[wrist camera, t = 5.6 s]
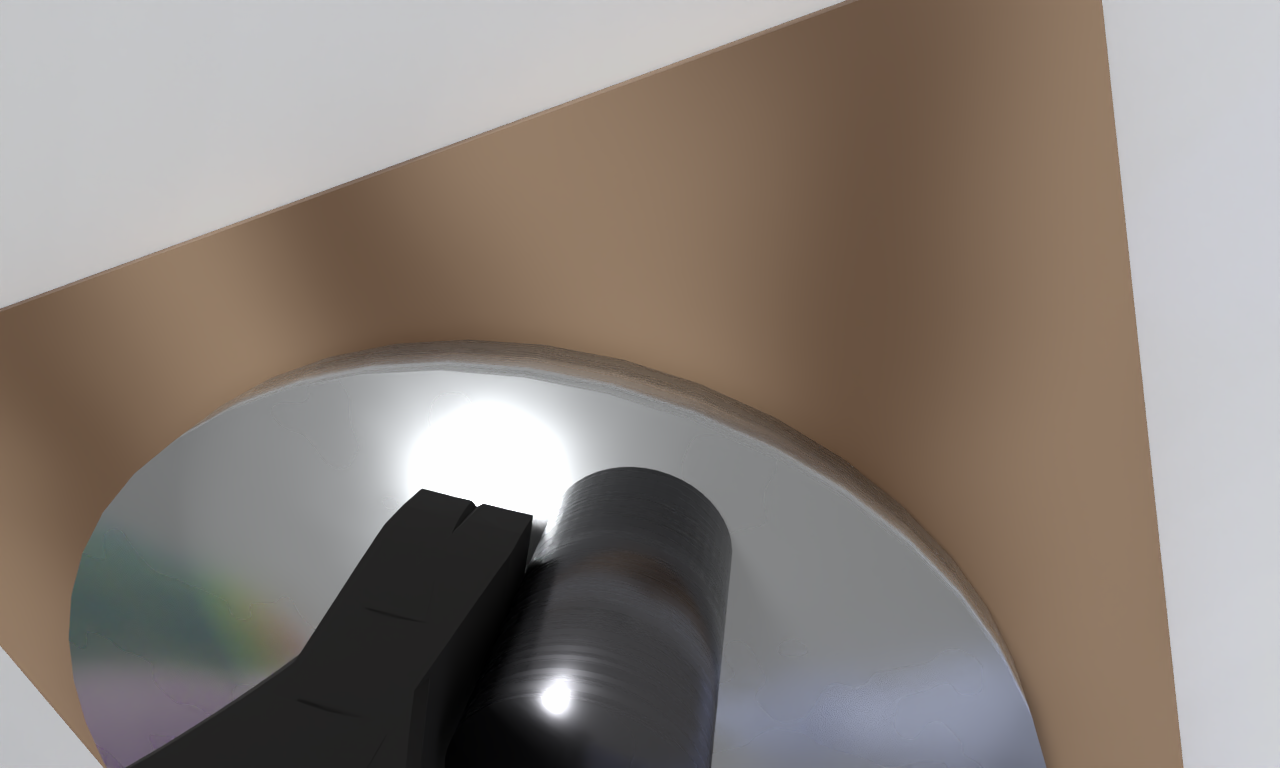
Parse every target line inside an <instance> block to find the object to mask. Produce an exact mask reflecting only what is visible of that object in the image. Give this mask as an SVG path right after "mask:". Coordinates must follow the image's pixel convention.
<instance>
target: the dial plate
mask: <svg viewBox="0 0 1280 768" xmlns="http://www.w3.org/2000/svg"><path fill="white" fill-rule="evenodd" d="M451 340H483V341H498V342H512V343H527V344H542V345H549V346H554V347H559V348H565V349H570V350H575V351H580V352H586V353H591V354H596V355H601V356H607V357H612V358H617V359H622V360H626V361H629V362H632V363H635V364H639V365H642V366H645V367H648V368H651V369H654V370H658V371H661V372H664V373H667V374H670V375H673V376H677V377H680V378H683V379H686V380H689V381H692V382H696V383H699V384H702V385H704V386H706V387H708V388H710V389H713V390H715V391H717V392H719V393H722V394H724V395H726V396H728V397H730V398H733V399H735V400H737V401H739V402H742V403H744V404H746V405H748V406H750V407H753V408H755V409H757V410H759V411H762V412H764V413H766V414H768V415H770V416H773V417H775V418H776V419H778V420H780V421H781V422H783V423H785V424H786V425H788V426H790V427H791V428H793V429H795V430H796V431H798V432H800V433H801V434H803V435H805V436H806V437H808V438H810V439H811V440H813V441H815V442H816V443H818V444H820V445H821V446H823V447H825V448H826V449H828V450H830V451H831V452H833V453H834V454H836V455H838V456H839V457H841V458H843V459H844V460H845V461H846V462H848V463H849V464H850V465H851V466H853V467H854V468H855V469H857V470H858V471H859V472H860V473H862V474H863V475H864V476H865V477H867V478H868V479H869V480H870V481H872V482H873V483H874V484H876V485H877V486H878V487H879V488H881V489H882V490H883V491H884V492H886V493H887V494H888V495H889V496H891V497H892V498H893V499H895V500H896V501H897V502H898V503H900V504H901V505H902V506H903V507H904V508H905V509H906V510H907V511H908V512H909V513H910V515H911V516H912V517H913V518H914V519H915V520H916V521H917V522H918V523H919V524H920V525H921V526H922V527H923V528H924V529H925V530H926V531H927V532H928V533H929V534H930V535H931V536H932V537H933V538H934V539H935V540H936V541H937V542H938V544H939V545H940V546H941V547H942V548H943V549H944V550H945V551H946V552H947V553H948V554H949V555H950V556H951V558H952V559H953V561H954V562H955V563H956V565H957V566H958V568H959V569H960V570H961V572H962V573H963V575H964V576H965V577H966V579H967V580H968V582H969V583H970V584H971V586H972V587H973V589H974V590H975V591H976V593H977V594H978V596H979V597H980V598H981V600H982V601H983V602H984V604H985V605H986V607H987V608H988V610H989V612H990V614H991V616H992V619H993V621H994V623H995V625H996V627H997V629H998V631H999V633H1000V635H1001V637H1002V639H1003V641H1004V643H1005V645H1006V647H1007V649H1008V651H1009V653H1010V655H1011V657H1012V659H1013V661H1014V664H1015V667H1016V670H1017V673H1018V676H1019V679H1020V683H1021V686H1022V689H1023V692H1024V695H1025V698H1026V701H1027V704H1028V707H1029V710H1030V713H1031V716H1032V719H1033V722H1034V726H1035V729H1036V733H1037V736H1038V740H1039V743H1040V747H1041V750H1042V754H1043V757H1044V761H1045V764H1046V768H1183V760H1182V750H1181V741H1180V731H1179V722H1178V713H1177V703H1176V694H1175V684H1174V675H1173V666H1172V656H1171V647H1170V637H1169V628H1168V619H1167V609H1166V600H1165V590H1164V581H1163V571H1162V562H1161V553H1160V543H1159V534H1158V524H1157V515H1156V506H1155V496H1154V487H1153V477H1152V468H1151V458H1150V449H1149V440H1148V430H1147V421H1146V411H1145V402H1144V393H1143V383H1142V374H1141V364H1140V355H1139V345H1138V336H1137V327H1136V317H1135V308H1134V298H1133V289H1132V280H1131V270H1130V261H1129V251H1128V242H1127V232H1126V223H1125V214H1124V204H1123V195H1122V185H1121V176H1120V167H1119V157H1118V148H1117V138H1116V129H1115V119H1114V110H1113V101H1112V91H1111V82H1110V72H1109V63H1108V54H1107V44H1106V35H1105V25H1104V16H1103V6H1102V0H846V1H844V2H841V3H838V4H835V5H833V6H830V7H827V8H824V9H822V10H819V11H816V12H813V13H811V14H808V15H805V16H802V17H800V18H797V19H794V20H791V21H789V22H786V23H783V24H780V25H778V26H775V27H772V28H770V29H767V30H764V31H761V32H759V33H756V34H753V35H750V36H748V37H745V38H742V39H739V40H737V41H734V42H731V43H728V44H726V45H723V46H720V47H717V48H715V49H712V50H709V51H706V52H704V53H701V54H698V55H695V56H693V57H690V58H687V59H684V60H682V61H679V62H676V63H673V64H671V65H668V66H665V67H663V68H660V69H657V70H654V71H652V72H649V73H646V74H643V75H641V76H638V77H635V78H632V79H630V80H627V81H624V82H621V83H619V84H616V85H613V86H610V87H608V88H605V89H602V90H599V91H597V92H594V93H591V94H588V95H586V96H583V97H580V98H577V99H575V100H572V101H569V102H566V103H564V104H561V105H558V106H556V107H553V108H550V109H547V110H545V111H542V112H539V113H536V114H534V115H531V116H528V117H525V118H523V119H520V120H517V121H514V122H512V123H509V124H506V125H503V126H501V127H498V128H495V129H492V130H490V131H487V132H484V133H481V134H479V135H476V136H473V137H470V138H468V139H465V140H462V141H459V142H457V143H454V144H451V145H449V146H446V147H443V148H440V149H438V150H435V151H432V152H429V153H427V154H424V155H421V156H418V157H416V158H413V159H410V160H407V161H405V162H402V163H399V164H396V165H394V166H391V167H388V168H385V169H383V170H380V171H377V172H374V173H372V174H369V175H366V176H363V177H361V178H358V179H355V180H352V181H350V182H347V183H344V184H342V185H339V186H336V187H333V188H331V189H328V190H325V191H322V192H320V193H317V194H314V195H311V196H309V197H306V198H303V199H300V200H298V201H295V202H292V203H289V204H287V205H284V206H281V207H278V208H276V209H273V210H270V211H267V212H265V213H262V214H259V215H256V216H254V217H251V218H248V219H245V220H243V221H240V222H237V223H235V224H232V225H229V226H226V227H224V228H221V229H218V230H215V231H213V232H210V233H207V234H204V235H202V236H199V237H196V238H193V239H191V240H188V241H185V242H182V243H180V244H177V245H174V246H171V247H169V248H166V249H163V250H160V251H158V252H155V253H152V254H149V255H147V256H144V257H141V258H138V259H136V260H133V261H130V262H127V263H125V264H122V265H119V266H117V267H114V268H111V269H108V270H106V271H103V272H100V273H97V274H95V275H92V276H89V277H86V278H84V279H81V280H78V281H75V282H73V283H70V284H67V285H64V286H62V287H59V288H56V289H53V290H51V291H48V292H45V293H42V294H40V295H37V296H34V297H31V298H29V299H26V300H23V301H20V302H18V303H15V304H12V305H10V306H7V307H4V308H1V309H0V646H1V647H2V648H3V649H4V650H5V652H6V653H7V654H8V655H9V656H10V658H11V659H12V660H13V661H14V662H15V663H16V665H17V666H18V667H19V668H20V669H21V671H22V672H23V673H24V674H25V675H26V676H27V678H28V679H29V680H30V681H31V682H32V684H33V685H34V686H35V687H36V688H37V689H38V691H39V692H40V693H41V694H42V695H43V697H44V698H45V699H46V700H47V701H48V702H49V704H50V705H51V706H52V707H53V708H54V710H55V711H56V712H57V713H58V714H59V715H60V717H61V718H62V719H63V720H64V721H65V723H66V724H67V725H68V726H69V727H70V728H71V730H72V731H73V732H74V733H75V734H76V736H77V737H78V738H79V739H80V740H81V741H82V743H83V744H84V745H85V746H86V747H87V749H88V750H89V751H90V752H91V753H92V754H93V756H94V757H95V758H96V759H97V760H98V762H99V763H100V764H101V765H102V766H103V767H104V768H107V767H106V766H105V764H104V762H103V760H102V758H101V755H100V753H99V751H98V749H97V746H96V744H95V742H94V740H93V737H92V735H91V733H90V731H89V728H88V726H87V724H86V721H85V718H84V714H83V711H82V707H81V704H80V701H79V697H78V694H77V690H76V687H75V683H74V678H73V670H72V662H71V653H70V645H69V624H70V608H71V594H72V591H73V587H74V583H75V579H76V575H77V572H78V568H79V564H80V560H81V557H82V553H83V551H84V549H85V547H86V545H87V543H88V541H89V539H90V537H91V535H92V533H93V531H94V529H95V527H96V525H97V523H98V521H99V519H100V517H101V515H102V513H103V512H104V510H105V509H106V508H107V507H108V506H109V504H110V503H111V502H112V501H113V499H114V498H115V497H116V496H117V494H118V493H119V492H120V491H121V489H122V488H123V487H124V486H125V484H126V483H127V482H128V481H129V479H130V478H131V477H132V476H133V475H134V474H135V473H136V472H137V471H138V470H139V469H141V468H142V467H143V466H144V465H145V464H147V463H148V462H149V461H150V460H152V459H153V458H154V457H155V456H156V455H158V454H159V453H160V452H161V451H162V450H164V449H165V448H166V447H167V446H168V445H170V444H171V443H172V442H173V441H175V440H176V439H177V438H178V437H180V436H181V435H182V434H184V433H185V432H187V431H188V430H189V429H191V428H192V427H193V426H195V425H196V424H197V423H199V422H200V421H201V420H203V419H204V418H205V417H207V416H208V415H209V414H211V413H212V412H213V411H215V410H216V409H217V408H219V407H220V406H221V405H223V404H225V403H227V402H228V401H230V400H232V399H234V398H236V397H237V396H239V395H241V394H243V393H245V392H246V391H248V390H250V389H252V388H254V387H255V386H257V385H259V384H261V383H263V382H264V381H266V380H268V379H270V378H272V377H275V376H277V375H280V374H283V373H286V372H289V371H291V370H294V369H297V368H300V367H302V366H305V365H308V364H311V363H314V362H316V361H319V360H322V359H325V358H327V357H331V356H336V355H341V354H346V353H351V352H356V351H362V350H367V349H372V348H377V347H382V346H387V345H392V344H400V343H417V342H434V341H451Z"/></svg>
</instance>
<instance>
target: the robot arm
mask: <svg viewBox="0 0 1280 768" xmlns="http://www.w3.org/2000/svg"><path fill="white" fill-rule="evenodd" d="M532 522H533V515H530V514H526V513H522V512H518V511H514V510H510V509H506V508H501V507H497V506H493V505H489V504H485V503H482V504H481V505H479V506H476V505H475V503H474V502H473V501H472V500H468V499H464V498H460V497H456V496H452V495H448V494H443V493H439V492H435V491H431V490H427V489H423V488H422V489H421V490H419V491H418V492H417V493H416V494H415V495H414V496H413V497H411V498H410V499H409V500H408V501H407V502H406V503H405V504H404V505H402V506H401V508H400V509H399V510H398V511H397V512H396V513H395V514H394V515H393V516H392V517H391V518H390V519H389V520H388V521H387V522H386V523H385V524H384V526H383V527H382V529H381V530H380V532H379V533H378V534H377V536H376V537H375V539H374V540H373V542H372V543H371V545H370V546H369V548H368V549H367V551H366V553H365V554H364V556H363V557H362V559H361V560H360V562H359V563H358V565H357V566H356V568H355V569H354V571H353V572H352V574H351V575H350V577H349V578H348V580H347V582H346V583H345V585H344V586H343V588H342V589H341V591H340V592H339V594H338V595H337V597H336V599H335V600H334V602H333V603H332V605H331V606H330V608H329V609H328V611H327V612H326V614H325V616H324V617H323V619H322V620H321V622H320V623H319V625H318V626H317V628H316V629H315V631H314V633H313V634H312V636H311V637H310V639H309V640H308V642H307V643H306V645H305V646H304V648H303V650H302V651H301V653H300V654H299V655H298V656H296V657H295V658H293V659H292V660H291V661H289V662H288V663H287V664H285V665H284V666H283V667H281V668H280V669H279V670H277V671H276V672H274V673H273V674H272V675H270V676H269V677H267V678H266V679H264V680H263V681H261V682H260V683H259V684H257V685H256V686H254V687H253V688H251V689H250V690H248V691H247V692H245V693H244V694H242V695H241V696H240V697H238V698H237V699H235V700H234V701H232V702H230V703H229V704H227V705H226V706H224V707H223V708H221V709H220V710H218V711H217V712H215V713H214V714H212V715H211V716H209V717H207V718H206V719H204V720H203V721H201V722H200V723H198V724H196V725H195V726H193V727H192V728H190V729H188V730H187V731H185V732H184V733H182V734H181V735H179V736H177V737H176V738H174V739H173V740H171V741H169V742H168V743H166V744H165V745H163V746H161V747H160V748H158V749H156V750H154V751H153V752H151V753H149V754H148V755H146V756H144V757H142V758H141V759H139V760H137V761H136V762H134V763H132V764H130V765H129V766H127V767H125V768H445V756H446V752H447V748H448V746H449V743H450V741H451V739H452V737H453V734H454V732H455V730H456V728H457V725H458V723H459V721H460V719H461V716H462V714H463V712H464V710H465V708H466V705H467V703H468V701H469V699H470V696H471V694H472V692H473V690H474V687H475V685H476V683H477V681H478V678H479V676H480V674H481V672H482V669H483V667H484V665H485V663H486V660H487V658H488V656H489V654H490V651H491V649H492V647H493V645H494V642H495V640H496V638H497V636H498V633H499V631H500V629H501V627H502V624H503V622H504V620H505V618H506V615H507V613H508V611H509V609H510V606H511V604H512V602H513V600H514V597H515V595H516V593H517V591H518V588H519V586H520V584H521V582H522V579H523V577H524V575H525V568H526V562H527V555H528V548H529V542H530V535H531V528H532Z"/></svg>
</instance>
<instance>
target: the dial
mask: <svg viewBox="0 0 1280 768" xmlns="http://www.w3.org/2000/svg"><path fill="white" fill-rule="evenodd" d="M422 488H423V489H427V490H431V491H435V492H439V493H443V494H448V495H452V496H456V497H460V498H464V499H468V500H472V501H473V502H474V503H475V505H476V506H479V505H481V504H482V503H485V504H489V505H493V506H497V507H501V508H506V509H510V510H514V511H518V512H522V513H526V514H530V515H533V522H532V528H531V535H530V542H529V548H528V555H527V562H526V568H525V575H524V577H523V579H522V582H521V584H520V586H519V588H518V591H517V593H516V595H515V597H514V600H513V602H512V604H511V606H510V609H509V611H508V613H507V615H506V618H505V620H504V622H503V624H502V627H501V629H500V631H499V633H498V636H497V638H496V640H495V642H494V645H493V647H492V649H491V651H490V654H489V656H488V658H487V660H486V663H485V665H484V667H483V669H482V672H481V674H480V676H479V678H478V681H477V683H476V685H475V687H474V690H473V692H472V694H471V696H470V699H469V701H468V703H467V705H466V708H465V710H464V712H463V714H462V716H461V719H460V721H459V723H458V725H457V728H456V730H455V732H454V734H453V737H452V739H451V741H450V743H449V746H448V748H447V752H446V756H445V768H1046V764H1045V761H1044V757H1043V754H1042V750H1041V747H1040V743H1039V740H1038V736H1037V733H1036V729H1035V726H1034V722H1033V719H1032V716H1031V713H1030V710H1029V707H1028V704H1027V701H1026V698H1025V695H1024V692H1023V689H1022V686H1021V683H1020V679H1019V676H1018V673H1017V670H1016V667H1015V664H1014V661H1013V659H1012V657H1011V655H1010V653H1009V651H1008V649H1007V647H1006V645H1005V643H1004V641H1003V639H1002V637H1001V635H1000V633H999V631H998V629H997V627H996V625H995V623H994V621H993V619H992V616H991V614H990V612H989V610H988V608H987V607H986V605H985V604H984V602H983V601H982V600H981V598H980V597H979V596H978V594H977V593H976V591H975V590H974V589H973V587H972V586H971V584H970V583H969V582H968V580H967V579H966V577H965V576H964V575H963V573H962V572H961V570H960V569H959V568H958V566H957V565H956V563H955V562H954V561H953V559H952V558H951V556H950V555H949V554H948V553H947V552H946V551H945V550H944V549H943V548H942V547H941V546H940V545H939V544H938V542H937V541H936V540H935V539H934V538H933V537H932V536H931V535H930V534H929V533H928V532H927V531H926V530H925V529H924V528H923V527H922V526H921V525H920V524H919V523H918V522H917V521H916V520H915V519H914V518H913V517H912V516H911V515H910V513H909V512H908V511H907V510H906V509H905V508H904V507H903V506H902V505H901V504H900V503H898V502H897V501H896V500H895V499H893V498H892V497H891V496H889V495H888V494H887V493H886V492H884V491H883V490H882V489H881V488H879V487H878V486H877V485H876V484H874V483H873V482H872V481H870V480H869V479H868V478H867V477H865V476H864V475H863V474H862V473H860V472H859V471H858V470H857V469H855V468H854V467H853V466H851V465H850V464H849V463H848V462H846V461H845V460H844V459H843V458H841V457H839V456H838V455H836V454H834V453H833V452H831V451H830V450H828V449H826V448H825V447H823V446H821V445H820V444H818V443H816V442H815V441H813V440H811V439H810V438H808V437H806V436H805V435H803V434H801V433H800V432H798V431H796V430H795V429H793V428H791V427H790V426H788V425H786V424H785V423H783V422H781V421H780V420H778V419H776V418H775V417H773V416H770V415H768V414H766V413H764V412H762V411H759V410H757V409H755V408H753V407H750V406H748V405H746V404H744V403H742V402H739V401H737V400H735V399H733V398H730V397H728V396H726V395H724V394H722V393H719V392H717V391H715V390H713V389H710V388H708V387H706V386H704V385H702V384H699V383H696V382H692V381H689V380H686V379H683V378H680V377H677V376H673V375H670V374H667V373H664V372H661V371H658V370H654V369H651V368H648V367H645V366H642V365H639V364H635V363H632V362H629V361H626V360H622V359H617V358H612V357H607V356H601V355H596V354H591V353H586V352H580V351H575V350H570V349H565V348H559V347H554V346H549V345H542V344H527V343H512V342H498V341H483V340H451V341H434V342H417V343H400V344H392V345H387V346H382V347H377V348H372V349H367V350H362V351H356V352H351V353H346V354H341V355H336V356H331V357H327V358H325V359H322V360H319V361H316V362H314V363H311V364H308V365H305V366H302V367H300V368H297V369H294V370H291V371H289V372H286V373H283V374H280V375H277V376H275V377H272V378H270V379H268V380H266V381H264V382H263V383H261V384H259V385H257V386H255V387H254V388H252V389H250V390H248V391H246V392H245V393H243V394H241V395H239V396H237V397H236V398H234V399H232V400H230V401H228V402H227V403H225V404H223V405H221V406H220V407H219V408H217V409H216V410H215V411H213V412H212V413H211V414H209V415H208V416H207V417H205V418H204V419H203V420H201V421H200V422H199V423H197V424H196V425H195V426H193V427H192V428H191V429H189V430H188V431H187V432H185V433H184V434H182V435H181V436H180V437H178V438H177V439H176V440H175V441H173V442H172V443H171V444H170V445H168V446H167V447H166V448H165V449H164V450H162V451H161V452H160V453H159V454H158V455H156V456H155V457H154V458H153V459H152V460H150V461H149V462H148V463H147V464H145V465H144V466H143V467H142V468H141V469H139V470H138V471H137V472H136V473H135V474H134V475H133V476H132V477H131V478H130V479H129V481H128V482H127V483H126V484H125V486H124V487H123V488H122V489H121V491H120V492H119V493H118V494H117V496H116V497H115V498H114V499H113V501H112V502H111V503H110V504H109V506H108V507H107V508H106V509H105V510H104V512H103V513H102V515H101V517H100V519H99V521H98V523H97V525H96V527H95V529H94V531H93V533H92V535H91V537H90V539H89V541H88V543H87V545H86V547H85V549H84V551H83V553H82V557H81V560H80V564H79V568H78V572H77V575H76V579H75V583H74V587H73V591H72V594H71V608H70V624H69V645H70V653H71V662H72V670H73V678H74V683H75V687H76V690H77V694H78V697H79V701H80V704H81V707H82V711H83V714H84V718H85V721H86V724H87V726H88V728H89V731H90V733H91V735H92V737H93V740H94V742H95V744H96V746H97V749H98V751H99V753H100V755H101V758H102V760H103V762H104V764H105V766H106V767H107V768H125V767H127V766H129V765H130V764H132V763H134V762H136V761H137V760H139V759H141V758H142V757H144V756H146V755H148V754H149V753H151V752H153V751H154V750H156V749H158V748H160V747H161V746H163V745H165V744H166V743H168V742H169V741H171V740H173V739H174V738H176V737H177V736H179V735H181V734H182V733H184V732H185V731H187V730H188V729H190V728H192V727H193V726H195V725H196V724H198V723H200V722H201V721H203V720H204V719H206V718H207V717H209V716H211V715H212V714H214V713H215V712H217V711H218V710H220V709H221V708H223V707H224V706H226V705H227V704H229V703H230V702H232V701H234V700H235V699H237V698H238V697H240V696H241V695H242V694H244V693H245V692H247V691H248V690H250V689H251V688H253V687H254V686H256V685H257V684H259V683H260V682H261V681H263V680H264V679H266V678H267V677H269V676H270V675H272V674H273V673H274V672H276V671H277V670H279V669H280V668H281V667H283V666H284V665H285V664H287V663H288V662H289V661H291V660H292V659H293V658H295V657H296V656H298V655H299V654H300V653H301V651H302V650H303V648H304V646H305V645H306V643H307V642H308V640H309V639H310V637H311V636H312V634H313V633H314V631H315V629H316V628H317V626H318V625H319V623H320V622H321V620H322V619H323V617H324V616H325V614H326V612H327V611H328V609H329V608H330V606H331V605H332V603H333V602H334V600H335V599H336V597H337V595H338V594H339V592H340V591H341V589H342V588H343V586H344V585H345V583H346V582H347V580H348V578H349V577H350V575H351V574H352V572H353V571H354V569H355V568H356V566H357V565H358V563H359V562H360V560H361V559H362V557H363V556H364V554H365V553H366V551H367V549H368V548H369V546H370V545H371V543H372V542H373V540H374V539H375V537H376V536H377V534H378V533H379V532H380V530H381V529H382V527H383V526H384V524H385V523H386V522H387V521H388V520H389V519H390V518H391V517H392V516H393V515H394V514H395V513H396V512H397V511H398V510H399V509H400V508H401V506H402V505H404V504H405V503H406V502H407V501H408V500H409V499H410V498H411V497H413V496H414V495H415V494H416V493H417V492H418V491H419V490H421V489H422Z"/></svg>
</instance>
